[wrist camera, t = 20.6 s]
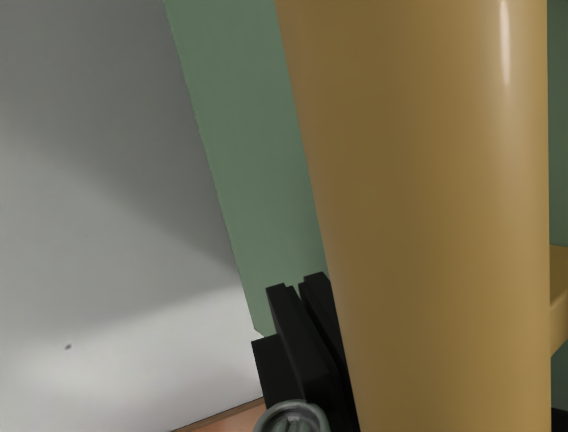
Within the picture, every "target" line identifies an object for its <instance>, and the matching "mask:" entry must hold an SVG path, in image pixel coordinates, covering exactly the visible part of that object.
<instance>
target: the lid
mask: <svg viewBox="0 0 568 432" xmlns="http://www.w3.org/2000/svg"><path fill="white" fill-rule="evenodd" d="M163 3H164V7H165V10H166V14H167V18H168V21H169V25H170V28H171V32H172V35H173V39H174V43H175V46H176V50H177V53H178V57H179V60H180V64H181V68H182V71H183V75H184V78H185V82H186V86H187V89H188V93H189V96H190V100H191V103H192V107H193V111H194V114H195V118H196V121H197V125H198V128H199V132H200V136H201V139H202V143H203V146H204V150H205V154H206V157H207V161H208V164H209V168H210V171H211V175H212V179H213V182H214V186H215V189H216V193H217V196H218V200H219V204H220V207H221V211H222V214H223V218H224V222H225V225H226V229H227V232H228V236H229V239H230V243H231V247H232V250H233V254H234V257H235V261H236V264H237V268H238V272H239V275H240V279H241V282H242V286H243V289H244V293H245V297H246V300H247V304H248V307H249V311H250V315H251V318H252V322H253V325H254V329H255V330H256V331H257V332H259V333H260V334H261V335H263V336H264V337H267V336H270V335H274V334H276V330H275V326H274V322H273V318H272V314H271V310H270V306H269V303H268V299H267V295H266V290H265V288H267V287H270V286H273V285H277V284H280V283H283V282H284V284H285V285H286V287H288V286H291V285H293V287H294V289H295V290H296V292H297V294H298V296H299V298H300V294H299V289H298V283H301V282H304V281H303V277H304V276H307V275H311V274H314V273H317V272H321V271H322V272H323V273H324V274H325V275H326V276H327V278H328V279H329V280H330V281H331V286H332V291H333V296H334V301H335V306H336V311H337V316H338V321H339V326H340V331H341V336H342V341H343V346H344V351H345V356H346V361H347V366H348V371H349V376H350V381H351V386H352V390H353V395H354V400H355V405H356V410H357V415H358V420H359V425H360V430H361V432H551V407H552V408H557V409H561V410H565V411H568V0H163ZM300 300H301V298H300Z"/></svg>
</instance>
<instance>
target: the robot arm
mask: <svg viewBox="0 0 568 432" xmlns="http://www.w3.org/2000/svg"><path fill="white" fill-rule="evenodd" d="M303 281H304V282H301V283H298V289H299V294H300V298H301V300H300V298H299V296H298V294H297V292H296V290H295V289H294V287H293V285H291V286H288V287H286V285H285V284H284V282H283V283H280V284H277V285H273V286H270V287H267V288H265V290H266V295H267V299H268V303H269V306H270V310H271V314H272V318H273V322H274V326H275V330H276V334H274V335H270V336H267V337H264V338H261V339H258V340H254V341H251V344H252V348H253V353H254V357H255V362H256V366H257V370H258V375H259V379H260V383H261V388H262V392H263V397H264V401H265V405H266V411H265V412H264V413H263V414H262V415H261V416H260V417H259V419H258V421H257V422H256V424H255V426H254V428H253V432H361V430H360V425H359V420H358V415H357V410H356V405H355V400H354V395H353V390H352V386H351V381H350V376H349V371H348V366H347V361H346V356H345V351H344V346H343V341H342V336H341V331H340V326H339V321H338V316H337V311H336V306H335V301H334V296H333V291H332V286H331V281H330V280H329V279H328V278H327V276H326V275H325V274H324V273H323V272H322V271H321V272H317V273H314V274H311V275H307V276H304V277H303ZM551 432H568V411H565V410H561V409H557V408H552V407H551Z"/></svg>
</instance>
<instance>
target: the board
mask: <svg viewBox="0 0 568 432" xmlns="http://www.w3.org/2000/svg"><path fill="white" fill-rule="evenodd" d="M265 411H266V405H265V401H264V397H263V398H260V399H257V400H255V401H252V402H249V403H247V404H244V405H241V406H239V407H236V408H233V409H231V410H228V411H225V412H223V413H220V414H217V415H215V416H212V417H209V418H207V419H204V420H201V421H199V422H196V423H193V424H191V425H188V426H185V427H183V428H180V429H177V430H175V431H172V432H253V428H254V426H255V424H256V422H257V421H258V419H259V417H260V416H261V415H262V414H263V413H264V412H265Z"/></svg>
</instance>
